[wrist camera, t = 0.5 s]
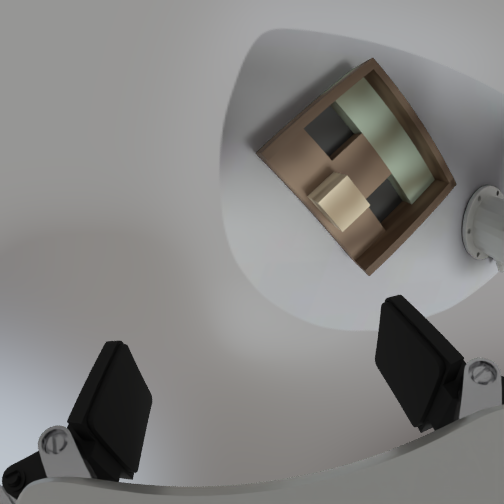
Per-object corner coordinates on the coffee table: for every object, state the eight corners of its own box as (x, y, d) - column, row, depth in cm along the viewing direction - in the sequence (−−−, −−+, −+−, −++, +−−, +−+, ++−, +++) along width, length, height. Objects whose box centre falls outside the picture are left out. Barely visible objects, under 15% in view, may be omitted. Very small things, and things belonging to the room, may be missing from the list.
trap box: (431, 178, 33) (456, 184, 28) (351, 259, 36) (369, 276, 31) (352, 69, 28) (372, 57, 23) (255, 153, 31) (260, 153, 26)
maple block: (354, 198, 31) (370, 205, 27) (330, 222, 32) (342, 231, 28) (333, 172, 30) (347, 175, 26) (307, 196, 30) (317, 203, 27)
